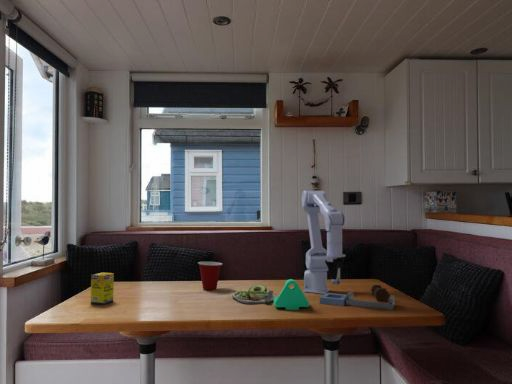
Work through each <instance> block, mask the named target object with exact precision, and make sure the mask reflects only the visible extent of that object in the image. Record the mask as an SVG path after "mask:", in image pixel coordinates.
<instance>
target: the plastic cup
mask: <svg viewBox="0 0 512 384" xmlns="http://www.w3.org/2000/svg"><path fill="white" fill-rule="evenodd" d="M197 264H198V266H199V267H198V268H199V273H200V277H201V278H200V279H201V284H202V289H203V291H206V292H209V291H210V292H213V291H216V290H217V287H218V282H219V279H220V278H219V277H220V271H221V268H222V266H223V263H222V262H216V261H199V262H197Z"/></svg>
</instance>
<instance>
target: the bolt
mask: <svg viewBox="0 0 512 384" xmlns="http://www.w3.org/2000/svg"><path fill="white" fill-rule="evenodd" d="M370 291H371V293H372V295H373V296H374V298H375V300H376V302H380V303H387V302H388V301H389V298H390V296H391V294H390V293H389V292H388V290H387V288H386V287H385V288H384V287H382V285H380V284H373V285H372V286H371V289H370Z"/></svg>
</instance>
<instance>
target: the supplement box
mask: <svg viewBox="0 0 512 384" xmlns="http://www.w3.org/2000/svg"><path fill="white" fill-rule="evenodd" d="M114 274H115V273H114V272H113V273H112V272H100V273H99V272H98V273H94V274H91V275H90V277H91V278H90V279H91V281H90V304H91V305H100V306H104V305H106V304H109V303H113V302H114V285H115V283H114V280H115V275H114Z"/></svg>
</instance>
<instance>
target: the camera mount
mask: <svg viewBox="0 0 512 384" xmlns="http://www.w3.org/2000/svg"><path fill="white" fill-rule="evenodd" d="M291 285H293V287H290V286H291ZM273 304H274V307H275V308H285V310H288V311H289V310H291V311H292V310H297V311H298V310H299V309H300V308H307V307H310V302H309V300H308V298H307V297H306V295H305V293H304V291H303V290H302V289H301V288H300V286H299V284H298V283H297V282H296V280H295V279H292V278H290V279H287V280H286V281H285V284H284V286H283V288H282V289H281V291H280V293H279V294H278V295H277V298H274V300H273Z"/></svg>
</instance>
